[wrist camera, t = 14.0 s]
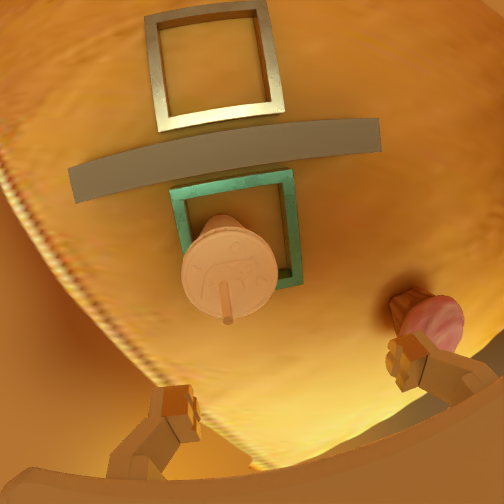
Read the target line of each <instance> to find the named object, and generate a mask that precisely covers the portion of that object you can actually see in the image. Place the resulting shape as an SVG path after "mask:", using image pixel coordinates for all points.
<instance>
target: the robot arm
mask: <svg viewBox="0 0 504 504" xmlns="http://www.w3.org/2000/svg"><path fill="white" fill-rule="evenodd" d="M388 349H389V350H390V351H389V352H388V354H387V355H386V361H385V362H386V368H387V370H388V372H389V374H390V375H391V376H393V377H395V378H396V382H395V383H396V384H397V386H398V387H399V388H400V390H401V391H402V392H405V391H408V390H410V389H413V388H416V387H418V386H419V388H421V389H423V390H425V391H427V392H429V393H431V394H432V395H434V396H436V397H438V398H440V399H442V400H444V401H445V402H448V403H449V404H450V406H449V408H448V409H447V410H445V411H443V412H441V413H440V414H437V415H435V416H433V417H431V418H429V419H427V420H425V421H423V422H421V423H419V424H417V425H414V426H412V427H410V428H407V429H405V430H403V431H400V432H398V433H396V434H393V435H391V436H388V437H386V438H383V439H381V440H378V441H375V442H372V443H370V444H367V445H364V446H361V447H359V448H355V449H352V450H349V451H346V452H343V453H339V454H336V455H332V456H329V457H326V458H322V459H319V460H314V461H310V462H306V463H302V464H298V465H293V466H289V467H284V468H279V469H274V470H269V471H263V472H257V473H251V474H244V475H237V476H228V477H220V478H208V479H196V480H172V481H171V480H170V481H167V480H166V479H165V477H164V476H163V475H162V474H161V473H162V472H163V470H164V469H165V467H166V466H167V464H168V463H169V461H170V460H171V458H172V457H173V455H174V454H175V452H176V451H177V449H178V448H179V446H180V443H188V442H197V441H201V428H200V425H199V423H198V422H199V421H200V420H201V417H200V408H199V404H198V401H197V398H196V397H194V396H193V388H192V386H191V385H190V384H189V385H178V386H166V387H154V388H153V390H152V395H151V401H150V407H149V414H148V418H144V419H143V421H141V423H140V424H139V425H138V426H137V427H136V428H135V429H134V430H133V431H132V432H131V433H130V434H129V435H128V436H127V437H126V438H125V439H124V440H123V442H121V444H120V445H119V446H118V447H117V448H116V449H115V450H114V451H113V452H112V453H111V454H110V458H109V464H108V469H107V474H106V478H98V477H97V478H96V477H89V476H81V475H74V474H68V473H62V472H56V471H51V470H46V469H41V468H37V467H29V468H27V469H25V470H24V471H22V472H21V473H20V474H18V475H17V476H15V477H14V478H13V479H12V480H10V481H9V482H8V483H7V484H6V485H5V486H4V488H3V490H2V491H1V493H0V504H504V376H503V377H501V378H498V377H497V376H496V374H495V373H494V372H493V371H492V370H491V369H490V368H489V367H488V366H487V365H486V364H485V363H483V362H480V361H476V360H473V359H470V358H467V357H464V356H461V355H458V354H455V353H452V352H449V351H446V350H439V349H438V348H437V347H436V345H435V344H434V343H433V342H432V341H431V340H430V339H429V338H428V337H427V336H426V335H425V334H424V333H423V332H422V331H421V330H417V331H415V332H412V333H409V334H406V335H403V336H401V337H398V338H395V339H392V340H390V341H389V343H388Z"/></svg>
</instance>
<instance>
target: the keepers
mask: <svg viewBox="0 0 504 504" xmlns="http://www.w3.org/2000/svg"><path fill="white" fill-rule="evenodd" d="M247 17H253V20H254V26H255V32H256V37H257V43H258V49H259V55H260V61H261V68H262V74H263V80H264V87H265V93H266V100H267V102H265V103H256V104H247V105H240V106H232V107H225V108H219V109H213V110H207V111H201V112H195V113H190V114H185V115H180V116H175V117H171V114H170V107H169V100H168V94H167V86H166V79H165V72H164V64H163V56H162V48H161V39H160V30H163V29H168V28H173V27H178V26H183V25H189V24H195V23H201V22H209V21H216V20H225V19H235V18H247ZM144 22H145V33H146V43H147V52H148V61H149V69H150V77H151V85H152V92H153V99H154V106H155V112H156V119H157V125H158V131H159V132H167V131H172V130H177V129H181V128H186V127H192V126H197V125H203V124H208V123H214V122H220V121H227V120H234V119H241V118H248V117H256V116H265V115H274V114H281V113H284V112H285V108H284V101H283V94H282V88H281V81H280V75H279V69H278V62H277V56H276V51H275V45H274V39H273V34H272V28H271V23H270V17H269V12H268V7H267V2H266V0H251V1H236V2H225V3H215V4H207V5H200V6H193V7H187V8H181V9H176V10H171V11H166V12H161V13H157V14H152V15H148V16H144ZM275 183H278V188H279V196H280V204H281V213H282V221H283V230H284V239H285V249H286V258H287V268H288V269H283V270H278V279H277V284H276V287H275V290H277V289H282V288H287V287H292V286H297V285H301V284H303V271H302V258H301V247H300V236H299V225H298V215H297V205H296V195H295V186H294V177H293V169H290V168H287V167H285V168H278V169H271V170H264V171H257V172H251V173H244V174H238V175H232V176H226V177H221V178H215V179H209V180H204V181H199V182H193V183H188V184H183V185H178V186H173V187H171V189H170V190H169V192H170V197H171V202H172V206H173V211H174V216H175V220H176V225H177V230H178V234H179V238H180V243H181V247H182V251H183V256H184V255H185V253H186V252H187V250H188V248H189V247H190V245H191V244H192V243H193V242H194V238H193V234H192V229H191V224H190V219H189V214H188V209H187V204H186V199H188V198H194V197H199V196H204V195H209V194H215V193H221V192H226V191H232V190H238V189H244V188H250V187H256V186H262V185H269V184H275Z"/></svg>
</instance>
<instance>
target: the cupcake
mask: <svg viewBox="0 0 504 504" xmlns="http://www.w3.org/2000/svg"><path fill="white" fill-rule="evenodd" d="M389 307H390V310H391V313H392V316H393V323H394V328H395V332H396V335H397V337H401V336H403V335H406V334H409V333H412V332H415V331H417V330H421V331H422V332H423V333H424V334H425V335H426V336H427V337H428V338H429V339H430V340H431V341H432V342H433V343H434V344H435V345H436V347H437V348H438V349H439V350H446V351H449V352H452V353H454V351H455V349H456V347H457V345H458V344H459V342H460V340H461V338H462V334H463V326H464V315H463V312H462V309H461V307H460V305H459V304H458V303H457V302H456V301H455V300H454V299H453V298H451V297H449V296H444V295H438V296H435V295H433V294H431V293H429V292H428V291H425V290H423V289H421V288H418V287H415V288H413V289H411V290H408V291H406V292H404V293H402V294H400V295H397V296H394V297H393V298H392V299H391V300H390V302H389Z"/></svg>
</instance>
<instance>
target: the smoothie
mask: <svg viewBox="0 0 504 504" xmlns="http://www.w3.org/2000/svg"><path fill="white" fill-rule="evenodd" d="M181 270H182V273H181V280H182V286H183V289H184V292H185V294H186V296H187V298H188V299H189V301H190V302H191V303H192V304H193V305H194V306H195V307H196V308H197V309H198V310H200V311H201V312H203V313H205V314H207V315H209V316H212V317H216V318H221V319H223V323H224V324H226V325H230V324H232V323H233V319H235V318H241V317H244V316H247V315H249V314H252V313H254V312H255V311H257V310H258V309H260V308H261V307H262V306H263V305H264V304H265V303H266V302H267V301H268V300H269V299H270V297H271V296H272V294H273V292H274V290H275V287H276V284H277V279H278V268H277V263H276V260H275V256H274V254H273V252H272V250H271V248H270V246H269V245H268V244H267V243H266V242H265V241H264V240H263V238H262V237H261V236H259V235H257V234H256V233H254V232H252V231H250V230H247V229H245V228H244V227H243V226H242V225H241V224H240V223H239V222H238V221H237V220H236V219H235V218H233V217H232V216H229V215H225V214H221V215H216V216H214V217H212V218H210V219H209V220H208V221H207V222H206V224H205V226H204V228H203V229H202V231H201V233H200V235H199V237H198V238H197V239H196V240H195V241H194V242H193V243H192V244H191V245H190V247H189V248H188V250H187V252H186V253H185V255H184V259H183V263H182V267H181Z"/></svg>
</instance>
